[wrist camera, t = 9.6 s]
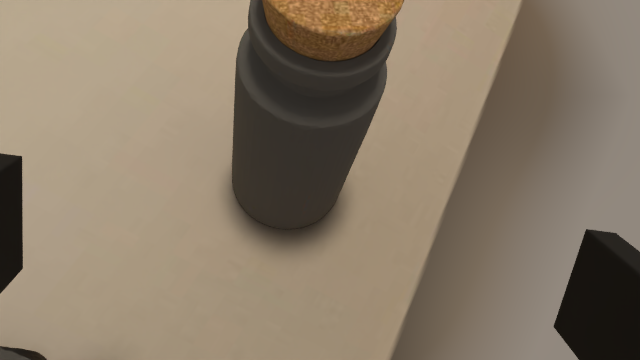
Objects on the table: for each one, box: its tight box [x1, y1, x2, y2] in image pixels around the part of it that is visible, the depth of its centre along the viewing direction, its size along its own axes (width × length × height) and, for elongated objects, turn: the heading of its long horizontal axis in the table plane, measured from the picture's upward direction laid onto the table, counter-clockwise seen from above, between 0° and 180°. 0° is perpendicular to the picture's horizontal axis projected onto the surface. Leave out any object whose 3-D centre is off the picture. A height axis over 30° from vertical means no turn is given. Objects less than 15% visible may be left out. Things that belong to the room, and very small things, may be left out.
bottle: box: [232, 0, 404, 229], centre depth 25 cm, size 6×6×15 cm
